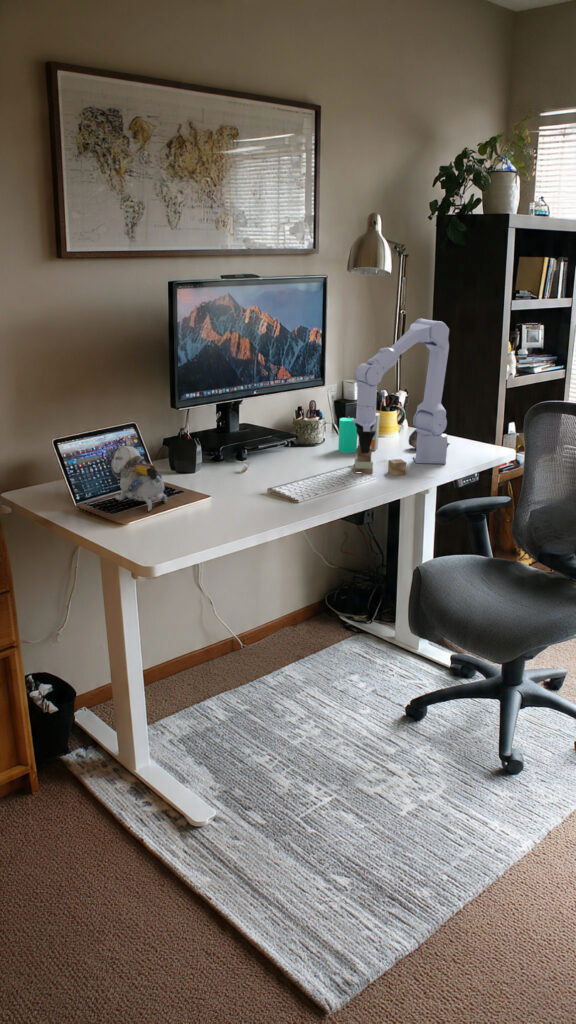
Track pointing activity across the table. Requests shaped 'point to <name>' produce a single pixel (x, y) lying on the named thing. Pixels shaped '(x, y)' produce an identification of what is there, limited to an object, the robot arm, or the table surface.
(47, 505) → the table surface
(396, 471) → the oak cube
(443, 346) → the robot arm
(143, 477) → the robotic toy
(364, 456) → the walnut cube
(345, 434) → the candle
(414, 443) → the bison figurine
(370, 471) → the slab bottom
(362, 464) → the slab top
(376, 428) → the skincare box
